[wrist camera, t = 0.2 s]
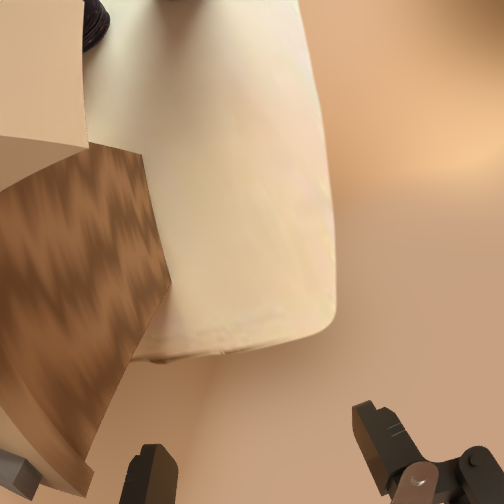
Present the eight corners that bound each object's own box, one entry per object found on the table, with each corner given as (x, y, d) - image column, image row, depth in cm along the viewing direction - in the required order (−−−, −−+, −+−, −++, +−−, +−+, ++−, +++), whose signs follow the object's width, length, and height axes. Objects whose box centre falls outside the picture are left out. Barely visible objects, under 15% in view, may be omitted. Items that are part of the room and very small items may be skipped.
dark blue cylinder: (60, 66, 29) (5, 37, 14) (59, 26, 26) (14, -8, 12) (113, 38, 29) (71, -9, 14) (109, 0, 26) (74, -47, 12)
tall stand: (77, 173, 34) (-142, 201, 1) (144, 150, 34) (-105, 98, 1) (109, 296, 38) (-27, 473, 6) (175, 284, 39) (77, 525, 6)
